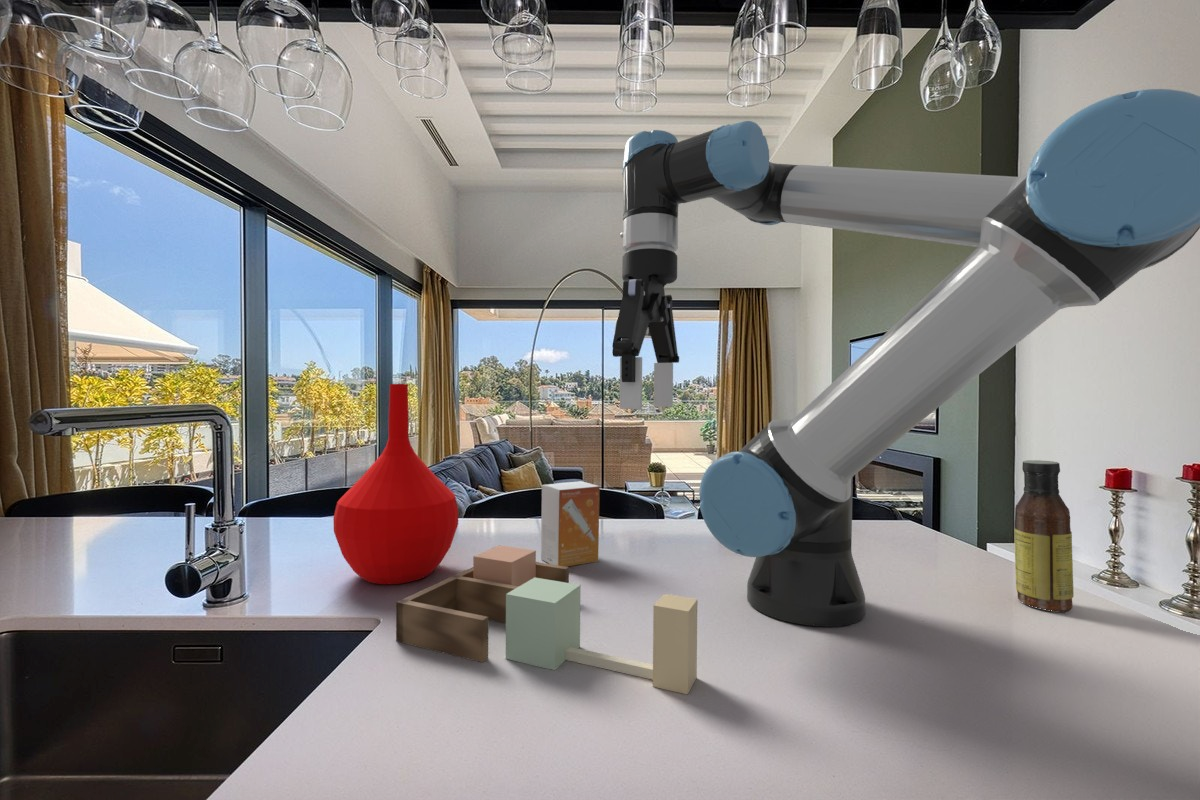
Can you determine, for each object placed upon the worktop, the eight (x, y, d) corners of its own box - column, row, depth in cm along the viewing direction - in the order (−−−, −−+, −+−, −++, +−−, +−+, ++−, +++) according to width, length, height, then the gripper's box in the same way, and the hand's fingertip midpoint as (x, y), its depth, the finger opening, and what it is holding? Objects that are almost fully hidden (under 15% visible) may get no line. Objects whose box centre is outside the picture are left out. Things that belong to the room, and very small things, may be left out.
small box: (558, 569, 91) (558, 489, 90) (540, 559, 96) (540, 484, 96) (599, 561, 95) (600, 485, 95) (580, 552, 100) (581, 480, 100)
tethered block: (699, 671, 58) (700, 595, 58) (684, 701, 52) (684, 616, 52) (534, 636, 66) (534, 568, 66) (505, 658, 60) (506, 584, 60)
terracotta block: (535, 600, 77) (535, 550, 77) (511, 616, 72) (511, 562, 72) (499, 594, 80) (499, 545, 80) (473, 608, 74) (473, 556, 74)
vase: (406, 603, 76) (407, 383, 75) (304, 585, 82) (304, 382, 82) (480, 564, 93) (481, 385, 93) (391, 552, 99) (391, 384, 99)
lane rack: (568, 599, 78) (568, 567, 78) (482, 662, 59) (482, 620, 59) (496, 586, 82) (496, 556, 82) (396, 641, 64) (396, 602, 64)
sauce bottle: (1064, 601, 78) (1067, 460, 78) (1080, 617, 73) (1083, 465, 73) (1008, 594, 81) (1010, 457, 81) (1019, 609, 76) (1021, 462, 75)
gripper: (652, 273, 89) (651, 405, 90) (586, 231, 67) (584, 409, 67) (699, 269, 86) (697, 406, 87) (645, 224, 64) (643, 410, 64)
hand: (648, 408), depth 77 cm, fingers open, 13 cm apart
